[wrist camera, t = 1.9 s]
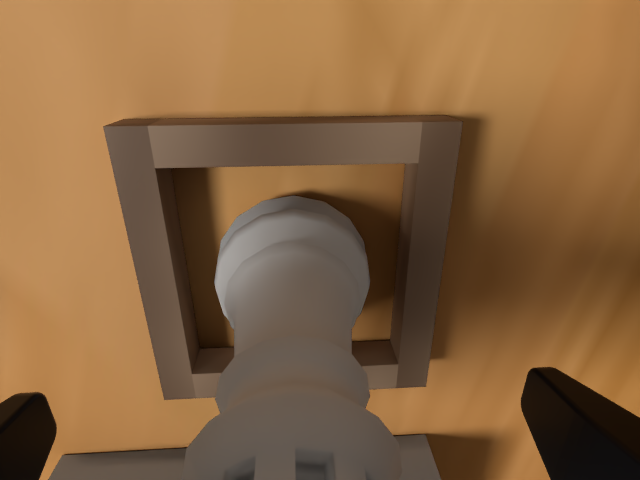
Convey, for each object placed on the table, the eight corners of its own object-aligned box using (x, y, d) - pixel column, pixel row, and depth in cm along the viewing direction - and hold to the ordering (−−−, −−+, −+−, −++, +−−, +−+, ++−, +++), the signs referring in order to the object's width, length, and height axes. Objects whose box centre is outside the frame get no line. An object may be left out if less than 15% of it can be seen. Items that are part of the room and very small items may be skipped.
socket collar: (445, 115, 11) (463, 121, 10) (415, 361, 14) (425, 386, 13) (123, 119, 10) (103, 126, 9) (174, 372, 14) (164, 400, 13)
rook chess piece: (292, 341, 14) (292, 665, 6) (188, 259, 12) (33, 559, 5) (393, 259, 13) (532, 536, 5) (293, 157, 11) (297, 351, 4)
